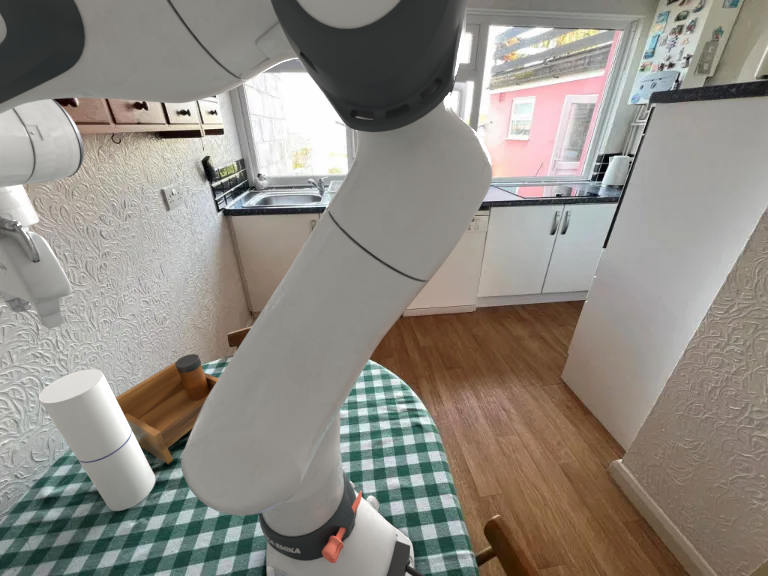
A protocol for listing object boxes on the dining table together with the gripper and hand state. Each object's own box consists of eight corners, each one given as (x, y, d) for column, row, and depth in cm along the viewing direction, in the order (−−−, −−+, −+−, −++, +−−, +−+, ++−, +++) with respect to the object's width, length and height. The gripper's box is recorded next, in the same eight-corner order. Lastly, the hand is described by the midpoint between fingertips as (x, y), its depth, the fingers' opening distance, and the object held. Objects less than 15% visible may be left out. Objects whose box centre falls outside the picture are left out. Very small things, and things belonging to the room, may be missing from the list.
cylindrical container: (130, 514, 53) (64, 406, 43) (96, 506, 55) (24, 399, 44) (164, 475, 60) (114, 372, 49) (133, 468, 61) (78, 366, 50)
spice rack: (234, 407, 75) (220, 358, 68) (168, 464, 62) (142, 409, 55) (201, 392, 79) (184, 345, 73) (133, 442, 66) (106, 389, 60)
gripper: (58, 215, 34) (107, 323, 40) (-15, 203, 42) (34, 294, 48) (-28, 228, 29) (42, 349, 35) (-93, 212, 37) (-27, 312, 43)
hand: (37, 317), depth 42 cm, fingers open, 8 cm apart
